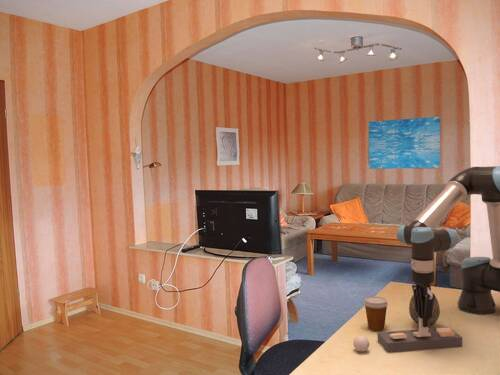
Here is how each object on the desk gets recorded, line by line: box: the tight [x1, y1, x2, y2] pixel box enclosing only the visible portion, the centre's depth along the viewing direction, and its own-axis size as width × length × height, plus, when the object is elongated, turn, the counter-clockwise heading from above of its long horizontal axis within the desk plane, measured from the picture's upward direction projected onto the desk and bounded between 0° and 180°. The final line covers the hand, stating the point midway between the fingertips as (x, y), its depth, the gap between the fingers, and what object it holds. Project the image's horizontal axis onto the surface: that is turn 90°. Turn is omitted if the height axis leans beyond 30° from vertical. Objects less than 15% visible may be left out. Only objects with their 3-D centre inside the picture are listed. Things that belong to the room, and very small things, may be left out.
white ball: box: [353, 335, 370, 353], centre depth 162 cm, size 8×6×6 cm
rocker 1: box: [389, 333, 407, 339], centre depth 161 cm, size 5×4×1 cm
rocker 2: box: [435, 326, 455, 337], centre depth 163 cm, size 5×4×1 cm
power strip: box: [376, 326, 463, 354], centre depth 164 cm, size 28×10×4 cm, turn 95°
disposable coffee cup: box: [363, 295, 389, 332], centre depth 180 cm, size 10×10×12 cm
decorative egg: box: [408, 292, 441, 327], centre depth 181 cm, size 12×12×15 cm
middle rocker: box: [413, 332, 431, 337], centre depth 162 cm, size 5×4×1 cm
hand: (423, 334), depth 160 cm, fingers closed
